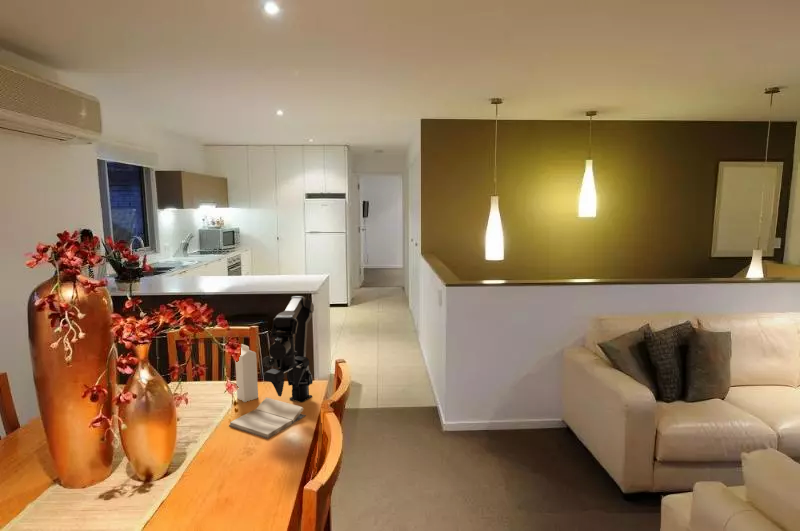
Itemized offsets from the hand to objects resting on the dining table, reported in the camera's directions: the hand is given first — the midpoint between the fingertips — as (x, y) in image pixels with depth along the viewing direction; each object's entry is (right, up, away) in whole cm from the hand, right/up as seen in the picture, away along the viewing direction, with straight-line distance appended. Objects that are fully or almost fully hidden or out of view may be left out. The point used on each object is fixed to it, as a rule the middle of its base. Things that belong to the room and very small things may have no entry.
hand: (288, 391), depth 165 cm
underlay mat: (-7, -10, -1) cm, 13 cm away
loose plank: (-4, -8, +4) cm, 10 cm away
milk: (-21, -8, +19) cm, 29 cm away
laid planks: (-9, -11, -4) cm, 14 cm away
